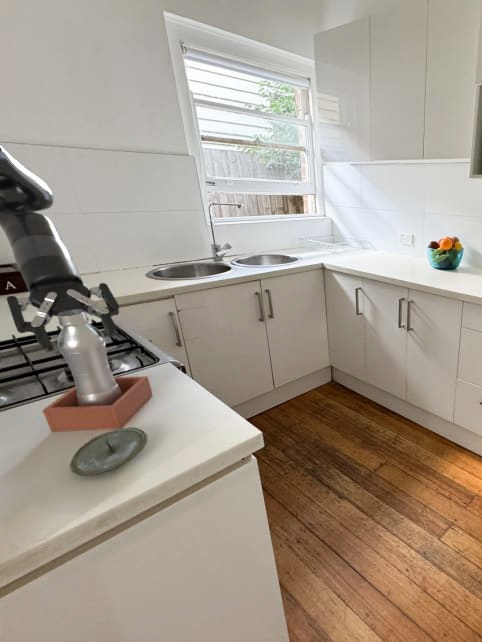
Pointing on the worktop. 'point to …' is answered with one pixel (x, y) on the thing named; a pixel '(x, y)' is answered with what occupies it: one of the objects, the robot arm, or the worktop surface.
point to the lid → (108, 451)
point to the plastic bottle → (87, 360)
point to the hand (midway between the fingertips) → (82, 341)
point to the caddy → (99, 408)
